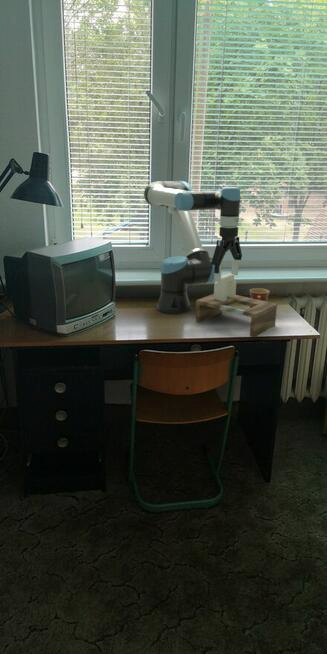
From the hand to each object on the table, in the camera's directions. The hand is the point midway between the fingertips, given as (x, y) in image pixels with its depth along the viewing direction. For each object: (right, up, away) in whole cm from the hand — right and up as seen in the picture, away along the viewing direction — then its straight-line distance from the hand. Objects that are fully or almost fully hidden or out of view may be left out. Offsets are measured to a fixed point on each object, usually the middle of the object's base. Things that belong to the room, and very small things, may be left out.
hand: (226, 277), depth 205 cm
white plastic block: (0, -8, +3) cm, 9 cm away
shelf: (+4, -19, +1) cm, 20 cm away
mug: (+16, -15, +14) cm, 26 cm away
